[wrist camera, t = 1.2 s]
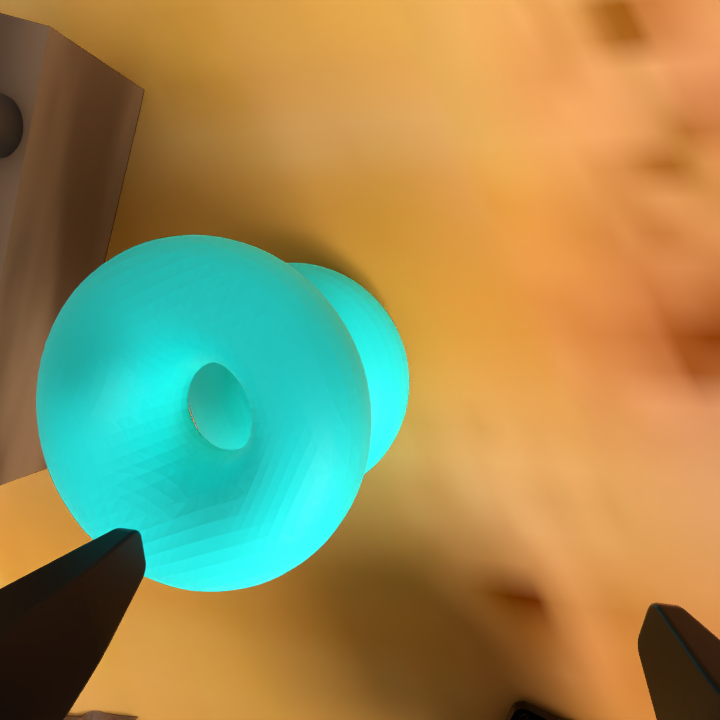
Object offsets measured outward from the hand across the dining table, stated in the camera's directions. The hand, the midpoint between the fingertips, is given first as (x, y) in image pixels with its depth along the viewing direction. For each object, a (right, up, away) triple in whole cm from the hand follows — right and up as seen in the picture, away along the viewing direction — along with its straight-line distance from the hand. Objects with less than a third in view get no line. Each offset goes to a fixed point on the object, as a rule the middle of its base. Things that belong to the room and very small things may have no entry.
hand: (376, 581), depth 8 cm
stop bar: (-15, +8, +16) cm, 23 cm away
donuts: (-3, +3, +13) cm, 14 cm away
